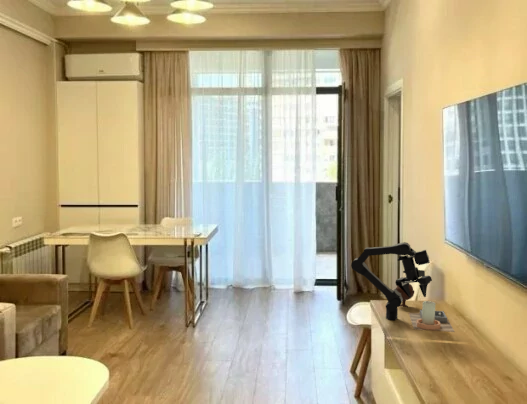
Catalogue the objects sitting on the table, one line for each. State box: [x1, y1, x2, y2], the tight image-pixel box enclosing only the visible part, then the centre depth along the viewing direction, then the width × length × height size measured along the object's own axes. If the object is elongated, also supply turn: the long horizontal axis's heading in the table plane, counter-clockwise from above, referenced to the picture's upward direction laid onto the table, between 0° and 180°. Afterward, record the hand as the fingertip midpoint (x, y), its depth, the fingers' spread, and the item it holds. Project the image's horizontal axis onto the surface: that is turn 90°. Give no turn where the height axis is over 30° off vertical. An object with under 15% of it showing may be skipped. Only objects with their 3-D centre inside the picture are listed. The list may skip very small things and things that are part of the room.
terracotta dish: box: [416, 319, 441, 331], centre depth 291 cm, size 11×11×2 cm
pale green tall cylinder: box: [421, 300, 436, 325], centre depth 291 cm, size 6×6×12 cm
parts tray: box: [419, 309, 448, 323], centre depth 304 cm, size 12×12×3 cm
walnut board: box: [408, 312, 456, 333], centre depth 298 cm, size 29×19×1 cm, turn 171°
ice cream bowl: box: [395, 283, 415, 308], centre depth 328 cm, size 11×11×15 cm
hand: (417, 297), depth 299 cm, fingers open, 9 cm apart
